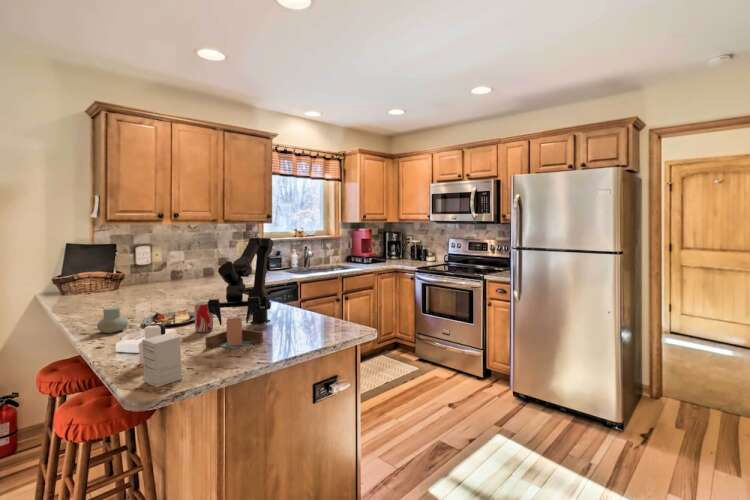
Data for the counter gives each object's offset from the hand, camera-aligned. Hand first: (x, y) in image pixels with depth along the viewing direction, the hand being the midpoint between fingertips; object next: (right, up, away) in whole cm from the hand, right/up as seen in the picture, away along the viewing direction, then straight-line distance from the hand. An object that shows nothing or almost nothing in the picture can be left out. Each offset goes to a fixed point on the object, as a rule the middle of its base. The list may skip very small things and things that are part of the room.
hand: (233, 323), depth 148 cm
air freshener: (-59, -8, +22) cm, 64 cm away
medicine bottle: (-20, -10, -15) cm, 27 cm away
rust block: (0, -8, +2) cm, 8 cm away
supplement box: (-9, -11, -33) cm, 35 cm away
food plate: (-43, -6, +38) cm, 58 cm away
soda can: (-20, -7, +21) cm, 30 cm away
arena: (0, -8, +1) cm, 8 cm away
